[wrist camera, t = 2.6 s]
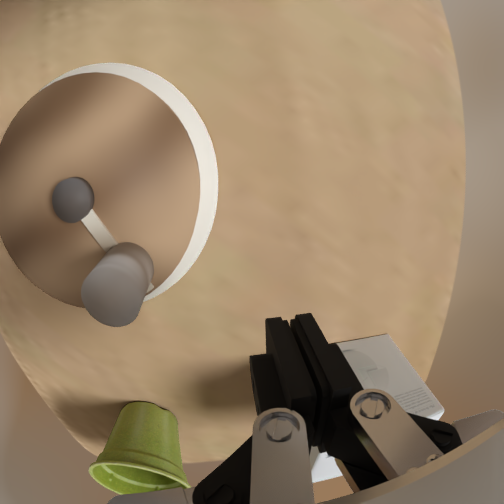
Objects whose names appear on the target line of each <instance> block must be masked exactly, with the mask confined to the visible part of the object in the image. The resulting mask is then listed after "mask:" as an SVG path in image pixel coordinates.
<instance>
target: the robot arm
mask: <svg viewBox="0 0 504 504" xmlns="http://www.w3.org/2000/svg"><path fill="white" fill-rule="evenodd" d="M265 326H266V354H261V355H253V356H250V371H251V380H252V388H253V394H254V399H255V405H256V410H257V416H258V417H257V418H256V420H255V421H254V425H253V435H252V436H251V437H250V438H249V439H248V440H247V441H246V442H245V443H244V444H242V445H241V446H240V447H239V448H238V449H237V450H236V451H235V452H234V453H233V454H232V455H231V456H230V457H229V458H227V459H226V460H225V461H224V462H223V463H222V464H221V465H220V466H219V467H217V468H216V469H215V470H214V471H213V472H212V473H210V474H209V475H208V476H207V477H206V478H205V479H203V480H202V481H201V482H200V483H199V484H198V485H197V486H196V487H191V488H186V489H183V488H182V487H178V488H172V489H166V490H159V491H152V492H143V493H133V494H122V495H118V496H115V497H114V498H112V499H111V500H110V501H109V502H108V504H315V503H314V493H313V484H312V474H311V465H310V452H311V447H316V446H317V447H318V450H319V453H324V452H327V454H328V455H329V456H332V457H334V458H335V459H334V460H335V462H336V465H337V466H338V468H339V470H340V471H341V473H342V474H343V476H344V478H345V479H346V481H347V483H348V484H349V486H350V488H351V489H352V491H353V492H354V493H353V494H350V495H347V496H343V497H340V498H337V499H333V500H329V501H325V502H321V503H317V504H504V413H503V412H501V411H499V410H490V411H487V412H484V413H481V414H477V415H474V416H471V417H467V418H464V419H460V420H457V421H453V423H452V424H451V425H450V424H448V423H445V422H441V421H438V420H434V419H430V418H426V417H422V416H419V415H415V414H411V413H408V412H405V410H404V409H403V408H402V407H401V406H400V405H399V404H398V403H397V402H396V400H395V399H394V398H393V397H392V396H391V395H390V394H388V393H387V392H385V391H383V390H379V389H365V390H364V388H363V387H362V385H361V383H360V382H359V380H358V378H357V376H356V375H355V373H354V371H353V370H352V368H351V366H350V365H349V363H348V361H347V359H346V358H345V356H344V354H343V353H342V351H341V349H340V348H339V346H338V345H337V344H336V343H333V344H328V342H327V340H326V339H325V337H324V335H323V333H322V331H321V330H320V328H319V326H318V324H317V323H316V321H315V319H314V317H313V316H312V314H311V313H307V314H299V315H296V316H295V319H291V321H290V326H289V323H288V321H287V320H283V321H282V318H281V317H276V318H267V319H266V321H265Z"/></svg>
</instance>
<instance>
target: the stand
mask: <svg viewBox="0 0 504 504" xmlns="http://www.w3.org/2000/svg"><path fill="white" fill-rule="evenodd" d="M92 72H100V73H111V74H115V75H119V76H123V77H126V78H129V79H131V80H133V81H135V82H138V83H140V84H141V85H143V86H144V87H146V88H147V89H149V90H151V91H152V92H153V93H155V94H156V95H157V96H159V97H160V98H161V99H162V100H163V101H164V102H165V103H166V104H167V105H169V106H170V108H171V109H172V110H173V111H174V113H175V114H176V115H177V116H178V117H179V119H180V121H181V122H182V124H183V125H184V127H185V129H186V130H187V132H188V135H189V137H190V139H191V142H192V144H193V146H194V150H195V153H196V157H197V161H198V166H199V173H200V202H199V211H198V215H197V219H196V223H195V228H194V232H193V235H192V238H191V240H190V243H189V246H188V248H187V250H186V252H185V254H184V256H183V258H182V259H181V261H180V263H179V264H178V266H177V267H176V268H175V270H174V271H173V273H172V274H171V275H170V276H169V277H168V278H167V279H166V280H165V281H164V282H163V283H162V284H161V285H160V286H159V287H158V288H156V289H155V290H154V291H153V292H151V293H150V294H148V295H146V296H145V298H144V300H143V302H144V301H147V300H149V299H151V298H154V297H156V296H157V295H159V294H161V293H162V292H164V291H166V290H167V289H168V288H170V287H171V286H172V285H174V284H175V283H176V282H177V281H178V280H179V279H180V278H181V277H182V276H183V275H184V274H185V273H186V272H187V271H188V270H189V269H190V267H191V266H192V265H193V263H194V262H195V261H196V259H197V258H198V256H199V254H200V253H201V251H202V249H203V247H204V245H205V244H206V241H207V239H208V236H209V234H210V231H211V229H212V225H213V221H214V217H215V213H216V207H217V199H218V170H217V162H216V155H215V152H214V148H213V144H212V141H211V138H210V136H209V134H208V131H207V129H206V126H205V125H204V123H203V121H202V120H201V118H200V116H199V115H198V113H197V111H196V110H195V108H194V107H193V106H192V104H191V103H190V102H189V101H188V100H187V98H186V97H185V96H184V95H183V94H182V93H181V92H180V91H179V90H178V89H176V88H175V87H174V86H173V85H172V84H171V83H169V82H168V81H166V80H165V79H163V78H162V77H160V76H158V75H157V74H155V73H152V72H150V71H148V70H146V69H143V68H140V67H136V66H132V65H128V64H121V63H98V64H92V65H87V66H83V67H80V68H77V69H74V70H72V71H69V72H67V73H65V74H63V75H61V76H59V77H58V78H56V79H54V80H53V81H51V82H50V83H49V84H47V85H46V86H45V87H47V86H49V85H50V84H52V83H54V82H56V81H58V80H61V79H63V78H66V77H69V76H73V75H77V74H81V73H92ZM45 87H43V88H42V89H44V88H45ZM42 89H41V90H42ZM41 90H40V91H41ZM40 91H39V92H40Z"/></svg>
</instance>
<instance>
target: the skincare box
mask: <svg viewBox="0 0 504 504" xmlns="http://www.w3.org/2000/svg"><path fill="white" fill-rule="evenodd" d="M336 344H337V345H338V346H339V348H340V349H341V351H342V353H343V354H344V356H345V358H346V359H347V361H348V363H349V365H350V366H351V368H352V370H353V371H354V373H355V375H356V376H357V378H358V380H359V382H360V383H361V385H362V387H363V388H364V390H365V389H379V390H383V391H385V392H387V393H388V394H390V395H391V396H392V397H393V398H394V399H395V400H396V402H397V403H398V404H399V405H400V406H401V407H402V408H403V409H404V410H405V412H408V413H411V414H415V415H419V416H422V417H426V418H430V419H434V420H439V418H440V417H441V415H442V414H443V412H444V408H443V407H442V406H441V404H440V403H439V402H438V400H437V399H436V398H435V397H434V395H433V394H432V392H431V391H430V390H429V388H428V387H427V386H426V384H425V383H424V382H423V380H422V379H421V377H420V376H419V375H418V374H417V372H416V371H415V369H414V368H413V367H412V366H411V364H410V363H409V361H408V360H407V359H406V358H405V356H404V355H403V354H402V352H401V351H400V350H399V348H398V347H397V346H396V344H395V343H394V342H393V340H392V339H391V337H390V336H389V334H384V335H379V336H374V337H369V338H364V339H358V340H353V341H347V342H341V343H336ZM334 459H335V458H334V457H332V456H329V455H328V454H327V452H324V453H319V450H318V447H317V446H316V447H311V452H310V465H311V474H312V483H314V482H318V481H323V480H327V479H331V478H335V477H338V476H342V475H343V474H342V473H341V471H340V470H339V468H338V466H337V465H336V462H335V460H334Z"/></svg>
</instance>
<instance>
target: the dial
mask: <svg viewBox="0 0 504 504" xmlns="http://www.w3.org/2000/svg"><path fill="white" fill-rule="evenodd" d="M199 202H200V173H199V166H198V161H197V157H196V153H195V150H194V146H193V144H192V142H191V139H190V137H189V135H188V132H187V130H186V129H185V127H184V125H183V124H182V122H181V121H180V119H179V117H178V116H177V115H176V114H175V113H174V111H173V110H172V109H171V108H170V106H169V105H167V104H166V103H165V102H164V101H163V100H162V99H161V98H160V97H159V96H157V95H156V94H155V93H153V92H152V91H151V90H149V89H147V88H146V87H144V86H143V85H141V84H140V83H138V82H135V81H133V80H131V79H129V78H126V77H123V76H119V75H115V74H111V73H100V72H92V73H81V74H77V75H73V76H69V77H66V78H63V79H61V80H58V81H56V82H54V83H52V84H50V85H49V86H47V87H45V88H44V89H42V90H41V91H40V92H38V93H37V94H36V95H35V96H33V97H32V98H31V99H30V100H29V101H28V102H27V103H26V104H25V105H24V106H23V107H22V108H21V109H20V111H19V112H18V113H17V115H16V116H15V117H14V119H13V120H12V122H11V124H10V125H9V127H8V129H7V131H6V133H5V135H4V137H3V139H2V142H1V144H0V235H1V238H2V241H3V243H4V245H5V247H6V249H7V251H8V253H9V254H10V256H11V258H12V259H13V261H14V262H15V264H16V265H17V266H18V268H19V269H20V270H21V271H22V273H23V274H24V275H25V276H26V277H27V278H28V279H29V280H30V281H31V282H32V283H33V284H34V285H36V286H37V287H38V288H40V289H41V290H42V291H43V292H45V293H47V294H48V295H50V296H52V297H53V298H55V299H58V300H60V301H62V302H64V303H67V304H70V305H73V306H77V307H82V308H86V310H87V311H88V312H89V314H90V315H91V316H92V317H93V318H95V319H96V320H97V321H99V322H101V323H103V324H105V325H108V326H113V327H121V326H125V325H128V324H130V323H131V322H133V321H134V320H135V319H136V317H137V316H138V313H139V311H140V308H141V305H142V303H143V300H144V298H145V296H146V295H148V294H150V293H151V292H153V291H154V290H155V289H156V288H158V287H159V286H160V285H161V284H162V283H163V282H164V281H165V280H166V279H167V278H168V277H169V276H170V275H171V274H172V273H173V271H174V270H175V268H176V267H177V266H178V264H179V263H180V261H181V259H182V258H183V256H184V254H185V252H186V250H187V248H188V246H189V243H190V240H191V238H192V235H193V232H194V228H195V223H196V219H197V215H198V211H199Z"/></svg>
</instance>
